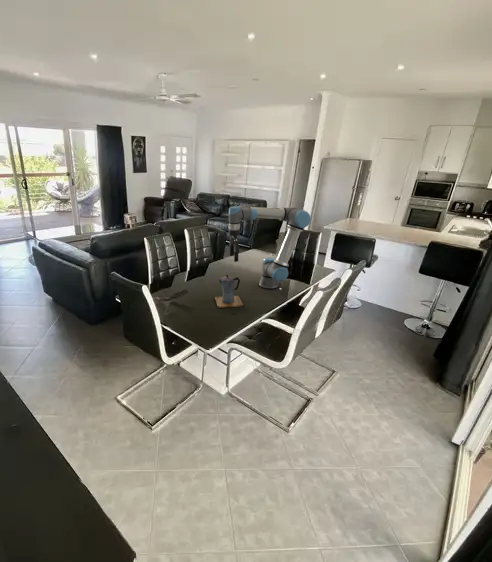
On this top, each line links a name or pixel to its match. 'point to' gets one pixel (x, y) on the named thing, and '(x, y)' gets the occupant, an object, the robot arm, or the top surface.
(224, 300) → the moka pot
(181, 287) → the top surface
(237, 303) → the cork board
